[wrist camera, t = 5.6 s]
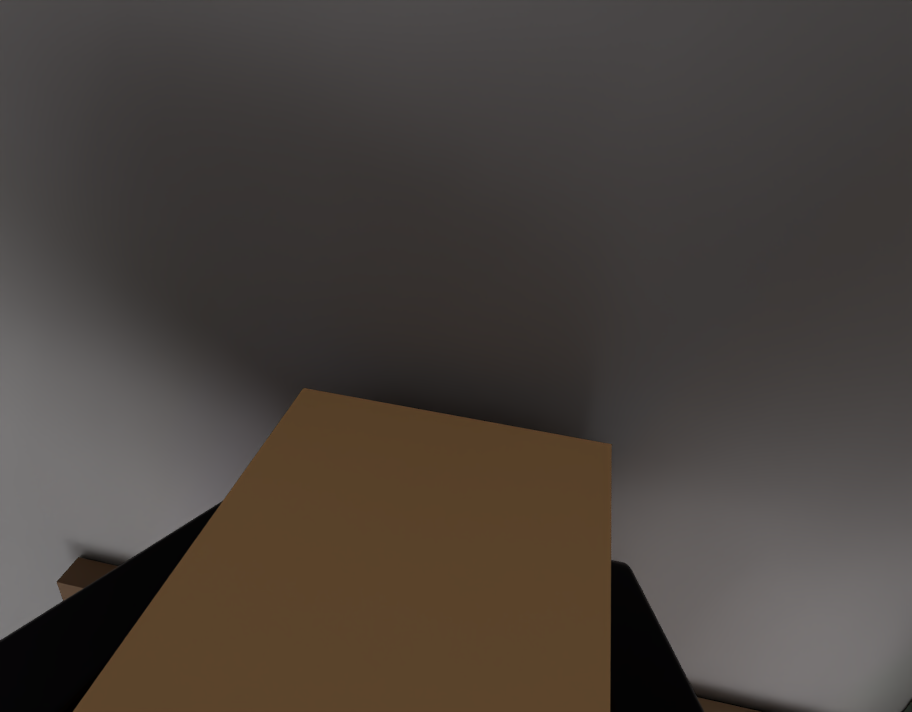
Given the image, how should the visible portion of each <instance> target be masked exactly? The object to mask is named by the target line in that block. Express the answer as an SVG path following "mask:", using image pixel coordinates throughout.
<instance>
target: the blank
mask: <svg viewBox="0 0 912 712" xmlns="http://www.w3.org/2000/svg"><path fill="white" fill-rule="evenodd" d="M611 455H612V444H607V443H602V442H597V441H591V440H586V439H580V438H575V437H569V436H564V435H558V434H553V433H547V432H542V431H536V430H531V429H525V428H520V427H515V426H509V425H504V424H498V423H493V422H487V421H482V420H476V419H471V418H465V417H460V416H454V415H449V414H443V413H438V412H432V411H427V410H422V409H416V408H411V407H405V406H400V405H394V404H389V403H383V402H378V401H372V400H367V399H361V398H356V397H350V396H345V395H340V394H334V393H329V392H323V391H318V390H312V389H307V388H303V389H302V391H301V392H300V394H299V395H298V396H297V398H296V399H295V401H294V402H293V403H292V405H291V406H290V408H289V409H288V410H287V412H286V413H285V415H284V416H283V417H282V419H281V420H280V422H279V423H278V424H277V426H276V427H275V429H274V430H273V431H272V433H271V434H270V436H269V437H268V438H267V440H266V441H265V443H264V444H263V445H262V447H261V448H260V450H259V451H258V453H257V454H256V455H255V457H254V458H253V460H252V461H251V462H250V464H249V465H248V467H247V468H246V469H245V471H244V472H243V474H242V475H241V476H240V478H239V479H238V481H237V482H236V483H235V485H234V486H233V488H232V489H231V490H230V492H229V493H228V495H227V496H226V497H225V499H224V500H223V502H222V503H221V504H220V506H219V507H218V509H217V510H216V511H215V513H214V514H213V516H212V517H211V518H210V520H209V521H208V523H207V524H206V526H205V527H204V528H203V530H202V531H201V533H200V534H199V535H198V537H197V538H196V540H195V541H194V542H193V544H192V545H191V547H190V548H189V549H188V551H187V552H186V554H185V555H184V556H183V558H182V559H181V561H180V562H179V563H178V565H177V566H176V568H175V569H174V570H173V572H172V573H171V575H170V576H169V577H168V579H167V580H166V582H165V583H164V584H163V586H162V587H161V589H160V590H159V591H158V593H157V594H156V596H155V597H154V599H153V600H152V601H151V603H150V604H149V606H148V607H147V608H146V610H145V611H144V613H143V614H142V615H141V617H140V618H139V620H138V621H137V622H136V624H135V625H134V627H133V628H132V629H131V631H130V632H129V634H128V635H127V636H126V638H125V639H124V641H123V642H122V643H121V645H120V646H119V648H118V649H117V650H116V652H115V653H114V655H113V656H112V657H111V659H110V660H109V662H108V663H107V665H106V666H105V667H104V669H103V670H102V672H101V673H100V674H99V676H98V677H97V679H96V680H95V681H94V683H93V684H92V686H91V687H90V688H89V690H88V691H87V693H86V694H85V695H84V697H83V698H82V700H81V701H80V702H79V704H78V705H77V707H76V708H75V709H74V711H73V712H610V659H611Z"/></svg>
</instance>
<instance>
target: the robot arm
mask: <svg viewBox="0 0 912 712" xmlns="http://www.w3.org/2000/svg"><path fill="white" fill-rule="evenodd" d="M222 502H223V501H222ZM222 502H220V503H219V504H217V505H215V506H214V507H212V508H211V509H209V510H207V511H206V512H204V513H203V514H201V515H199V516H198V517H196V518H195V519H193V520H192V521H190V522H188V523H187V524H185V525H184V526H182V527H180V528H179V529H177V530H176V531H174V532H172V533H171V534H169V535H168V536H166V537H164V538H163V539H161V540H160V541H158V542H156V543H155V544H153V545H152V546H150V547H148V548H147V549H145V550H144V551H142V552H140V553H139V554H137V555H136V556H134V557H132V558H131V559H129V560H128V561H126V562H125V563H123V564H121V565H120V566H118V567H117V568H115V569H113V570H112V571H110V572H109V573H107V574H105V575H104V576H102V577H101V578H99V579H97V580H96V581H94V582H93V583H91V584H89V585H88V586H86V587H85V588H83V589H81V590H80V591H78V592H77V593H75V594H73V595H72V596H70V597H69V598H67V599H65V600H64V601H62V602H61V603H59V604H58V605H56V606H54V607H53V608H51V609H50V610H48V611H46V612H45V613H43V614H42V615H40V616H38V617H37V618H35V619H34V620H32V621H30V622H29V623H27V624H26V625H24V626H22V627H21V628H19V629H18V630H16V631H14V632H13V633H11V634H10V635H8V636H6V637H5V638H3V639H2V640H0V712H73V711H74V709H75V708H76V707H77V705H78V704H79V702H80V701H81V700H82V698H83V697H84V695H85V694H86V693H87V691H88V690H89V688H90V687H91V686H92V684H93V683H94V681H95V680H96V679H97V677H98V676H99V674H100V673H101V672H102V670H103V669H104V667H105V666H106V665H107V663H108V662H109V660H110V659H111V657H112V656H113V655H114V653H115V652H116V650H117V649H118V648H119V646H120V645H121V643H122V642H123V641H124V639H125V638H126V636H127V635H128V634H129V632H130V631H131V629H132V628H133V627H134V625H135V624H136V622H137V621H138V620H139V618H140V617H141V615H142V614H143V613H144V611H145V610H146V608H147V607H148V606H149V604H150V603H151V601H152V600H153V599H154V597H155V596H156V594H157V593H158V591H159V590H160V589H161V587H162V586H163V584H164V583H165V582H166V580H167V579H168V577H169V576H170V575H171V573H172V572H173V570H174V569H175V568H176V566H177V565H178V563H179V562H180V561H181V559H182V558H183V556H184V555H185V554H186V552H187V551H188V549H189V548H190V547H191V545H192V544H193V542H194V541H195V540H196V538H197V537H198V535H199V534H200V533H201V531H202V530H203V528H204V527H205V526H206V524H207V523H208V521H209V520H210V518H211V517H212V516H213V514H214V513H215V511H216V510H217V509H218V507H219V506H220V504H221V503H222ZM610 712H704V710H703V708H702V706H701V704H700V702H699V700H698V698H697V696H696V694H695V692H694V690H693V689H692V687H691V685H690V683H689V681H688V679H687V677H686V675H685V673H684V671H683V669H682V667H681V665H680V663H679V661H678V659H677V657H676V655H675V653H674V651H673V649H672V647H671V646H670V644H669V642H668V640H667V638H666V636H665V634H664V632H663V630H662V628H661V626H660V624H659V622H658V620H657V618H656V616H655V614H654V612H653V610H652V608H651V606H650V605H649V603H648V601H647V599H646V597H645V595H644V593H643V591H642V589H641V587H640V585H639V583H638V581H637V579H636V577H635V575H634V573H633V571H632V570H631V568H630V567H629V566H628V565H627V564H626V563H623V562H619V561H614V560H611V659H610Z"/></svg>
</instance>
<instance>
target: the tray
mask: <svg viewBox="0 0 912 712" xmlns="http://www.w3.org/2000/svg"><path fill="white" fill-rule="evenodd" d="M904 712H912V702H911V703H910V704H909V706H908V707H907V708H906V710H905V711H904Z"/></svg>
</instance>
